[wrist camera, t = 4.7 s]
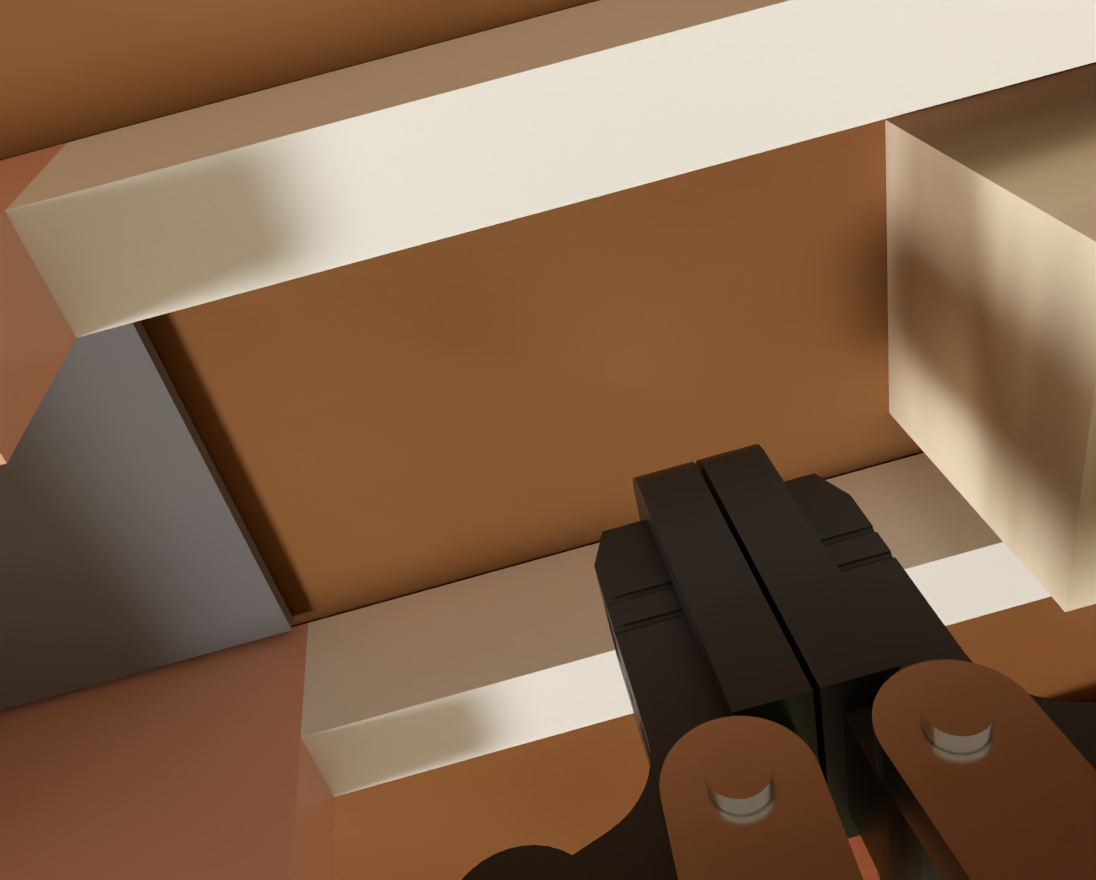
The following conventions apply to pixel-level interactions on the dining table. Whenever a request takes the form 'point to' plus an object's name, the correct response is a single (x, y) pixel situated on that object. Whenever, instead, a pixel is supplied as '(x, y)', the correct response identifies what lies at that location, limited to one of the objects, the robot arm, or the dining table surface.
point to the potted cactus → (863, 858)
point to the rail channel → (321, 244)
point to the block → (1002, 312)
